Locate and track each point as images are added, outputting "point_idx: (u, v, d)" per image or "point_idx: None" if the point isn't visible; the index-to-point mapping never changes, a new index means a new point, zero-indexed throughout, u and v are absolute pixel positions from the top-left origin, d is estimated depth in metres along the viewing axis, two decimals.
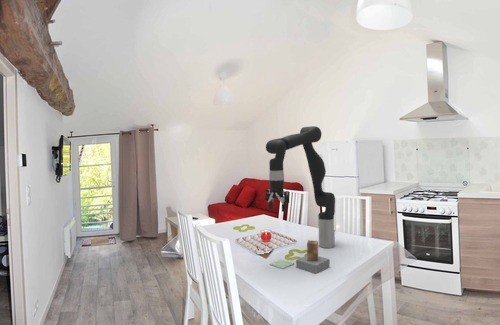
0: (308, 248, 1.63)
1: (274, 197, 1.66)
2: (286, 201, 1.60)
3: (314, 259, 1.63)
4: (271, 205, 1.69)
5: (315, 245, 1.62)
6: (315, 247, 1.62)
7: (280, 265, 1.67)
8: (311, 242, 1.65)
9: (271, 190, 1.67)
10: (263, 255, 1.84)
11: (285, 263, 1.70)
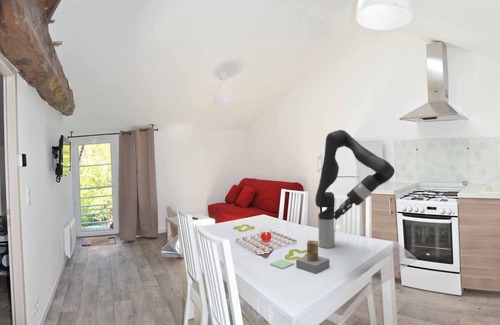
0: (308, 248, 1.63)
1: None
2: None
3: (314, 259, 1.63)
4: None
5: (315, 245, 1.62)
6: (315, 247, 1.62)
7: (280, 265, 1.67)
8: (311, 242, 1.65)
9: (351, 204, 1.56)
10: (263, 255, 1.84)
11: (285, 263, 1.70)
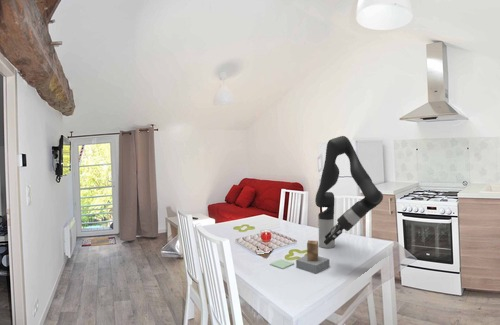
0: (308, 248, 1.63)
1: None
2: None
3: (314, 259, 1.63)
4: None
5: (315, 245, 1.62)
6: (315, 247, 1.62)
7: (280, 265, 1.67)
8: (311, 242, 1.65)
9: (341, 230, 1.58)
10: (263, 255, 1.84)
11: (285, 263, 1.70)
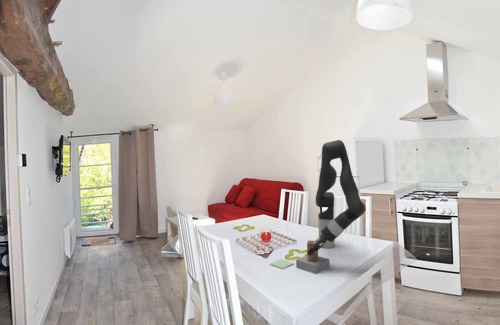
0: (308, 248, 1.63)
1: None
2: None
3: (314, 259, 1.63)
4: None
5: None
6: (315, 247, 1.62)
7: (280, 265, 1.67)
8: (311, 242, 1.65)
9: (325, 241, 1.60)
10: (263, 255, 1.84)
11: (285, 263, 1.70)
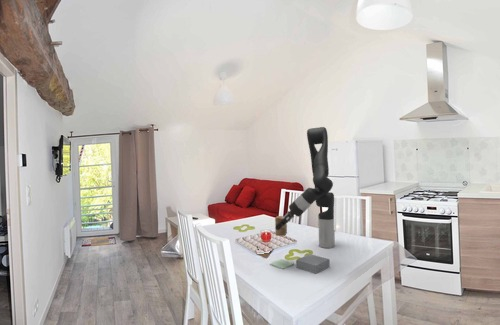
0: (277, 223, 1.67)
1: None
2: None
3: (281, 233, 1.67)
4: None
5: None
6: None
7: (280, 265, 1.67)
8: (279, 217, 1.69)
9: (292, 215, 1.64)
10: (263, 255, 1.84)
11: (285, 263, 1.70)
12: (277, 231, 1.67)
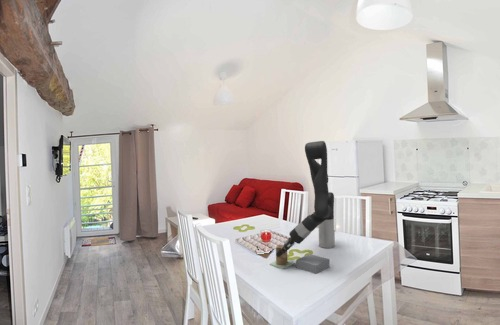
0: None
1: None
2: None
3: (282, 263, 1.67)
4: None
5: None
6: None
7: (280, 265, 1.67)
8: (280, 246, 1.70)
9: (293, 243, 1.65)
10: (263, 255, 1.84)
11: None
12: (278, 260, 1.68)
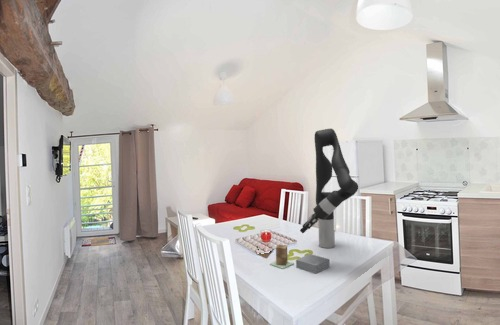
0: (277, 252, 1.68)
1: None
2: None
3: (282, 263, 1.67)
4: None
5: (283, 250, 1.67)
6: (283, 252, 1.67)
7: (280, 265, 1.67)
8: (280, 246, 1.70)
9: (317, 219, 1.62)
10: (263, 255, 1.84)
11: None
12: (278, 260, 1.68)
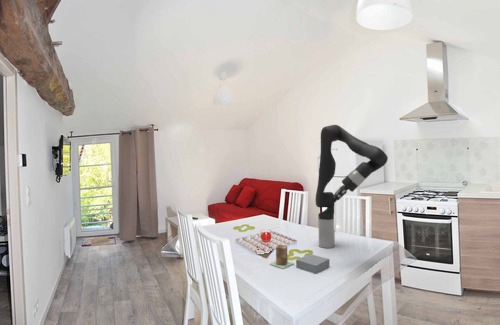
0: (277, 252, 1.68)
1: None
2: None
3: (282, 263, 1.67)
4: None
5: (283, 250, 1.67)
6: (283, 252, 1.67)
7: (280, 265, 1.67)
8: (280, 246, 1.70)
9: (346, 190, 1.61)
10: (263, 255, 1.84)
11: None
12: (278, 260, 1.68)
